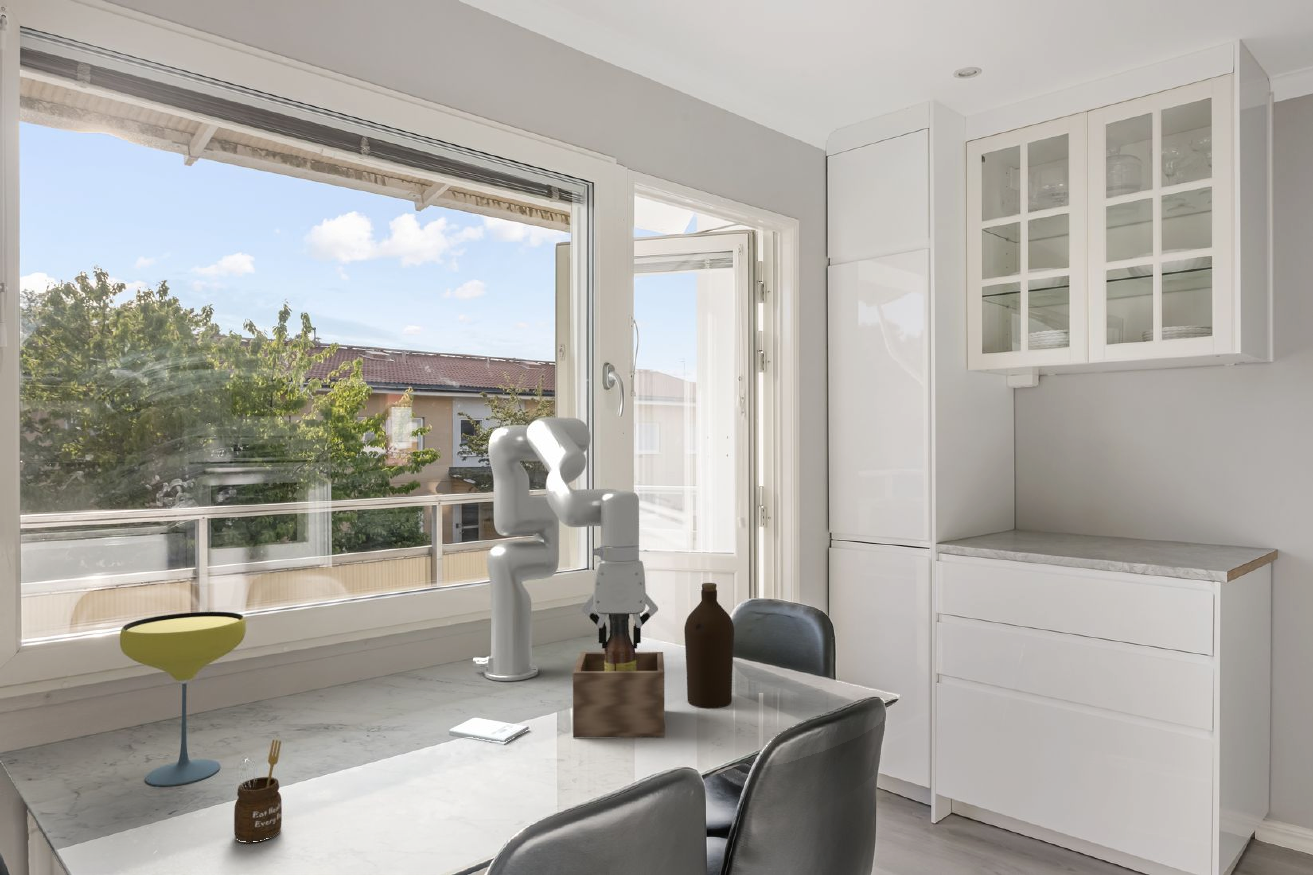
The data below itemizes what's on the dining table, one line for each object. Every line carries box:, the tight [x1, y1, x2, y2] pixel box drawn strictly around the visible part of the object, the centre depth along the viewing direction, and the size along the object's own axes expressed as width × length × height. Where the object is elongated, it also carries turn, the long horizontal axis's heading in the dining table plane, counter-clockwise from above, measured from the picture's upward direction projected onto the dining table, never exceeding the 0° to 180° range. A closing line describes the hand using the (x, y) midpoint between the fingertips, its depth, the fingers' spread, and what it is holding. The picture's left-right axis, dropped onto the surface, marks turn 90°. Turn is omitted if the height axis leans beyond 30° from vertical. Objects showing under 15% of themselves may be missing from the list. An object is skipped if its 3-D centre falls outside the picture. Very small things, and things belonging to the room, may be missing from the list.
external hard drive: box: [448, 717, 530, 742], centre depth 155 cm, size 2×8×12 cm
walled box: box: [572, 651, 666, 739], centre depth 160 cm, size 17×16×12 cm
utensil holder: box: [233, 739, 283, 842], centre depth 113 cm, size 6×6×12 cm
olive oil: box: [683, 582, 735, 709], centre depth 174 cm, size 11×11×25 cm
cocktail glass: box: [119, 611, 247, 787], centre depth 135 cm, size 18×18×25 cm
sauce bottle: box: [604, 614, 636, 671], centre depth 160 cm, size 6×6×20 cm
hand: (619, 645), depth 160 cm, fingers closed on sauce bottle, 5 cm apart
